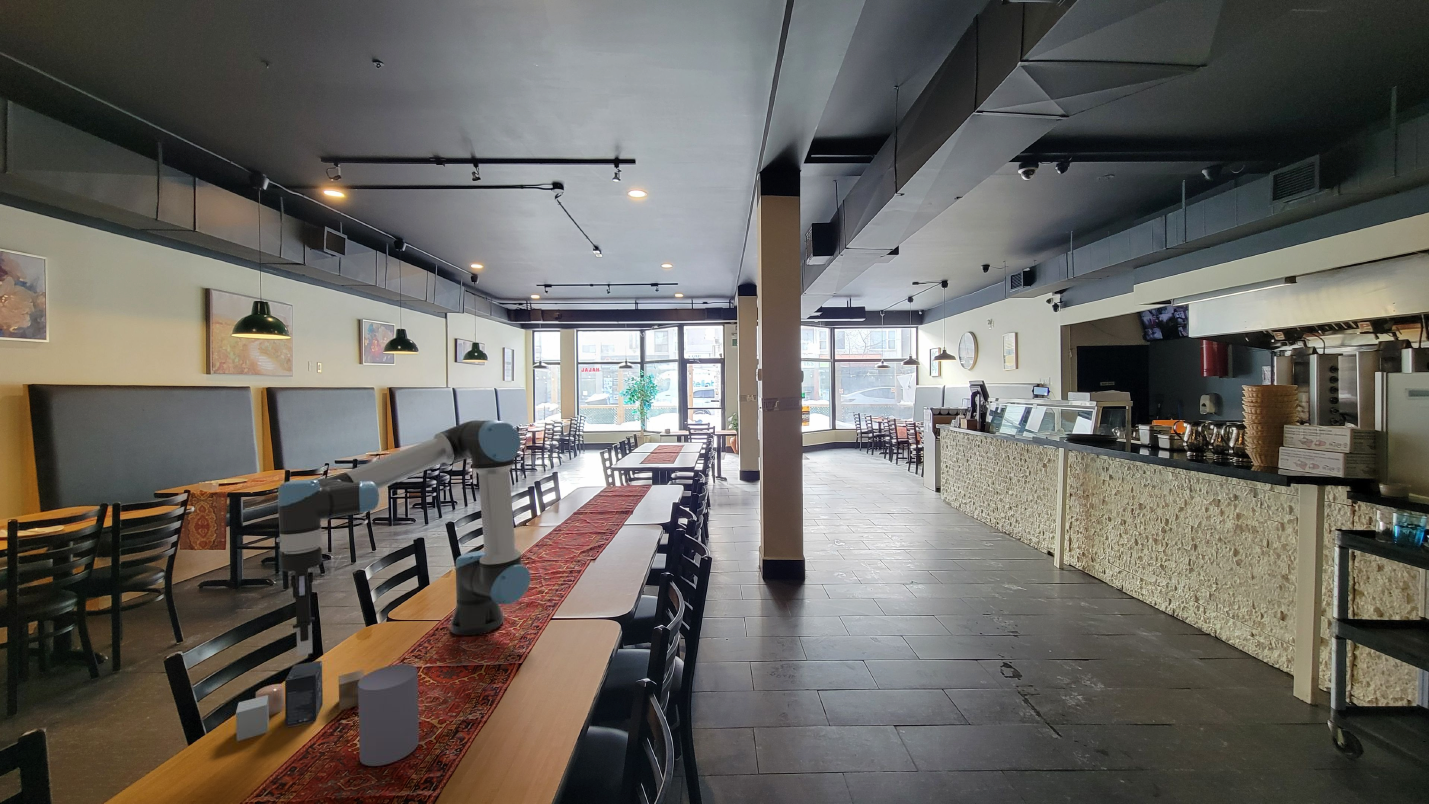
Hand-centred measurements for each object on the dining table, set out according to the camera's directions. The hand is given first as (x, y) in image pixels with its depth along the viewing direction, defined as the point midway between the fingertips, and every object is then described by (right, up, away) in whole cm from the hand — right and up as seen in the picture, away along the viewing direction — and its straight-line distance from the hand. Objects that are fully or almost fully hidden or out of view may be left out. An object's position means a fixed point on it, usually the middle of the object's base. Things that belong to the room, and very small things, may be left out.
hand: (305, 653), depth 124 cm
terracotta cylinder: (-9, -14, +2) cm, 17 cm away
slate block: (-7, -14, -6) cm, 17 cm away
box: (0, -14, 0) cm, 14 cm away
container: (+27, -14, -13) cm, 33 cm away
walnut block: (+7, -14, +5) cm, 17 cm away
